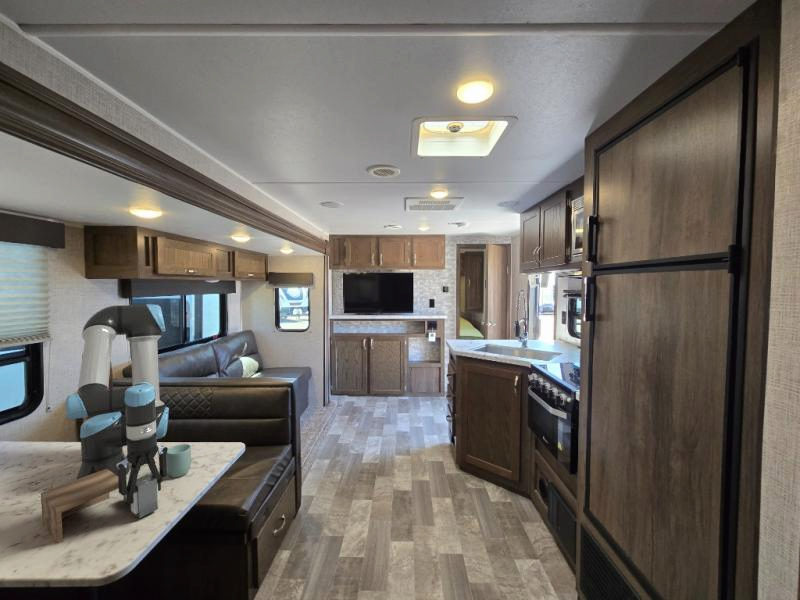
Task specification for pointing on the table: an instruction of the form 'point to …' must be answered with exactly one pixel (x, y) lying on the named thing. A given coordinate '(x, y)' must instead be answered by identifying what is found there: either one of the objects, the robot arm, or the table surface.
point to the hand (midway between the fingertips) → (145, 506)
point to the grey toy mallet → (146, 495)
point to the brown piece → (75, 499)
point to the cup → (178, 460)
